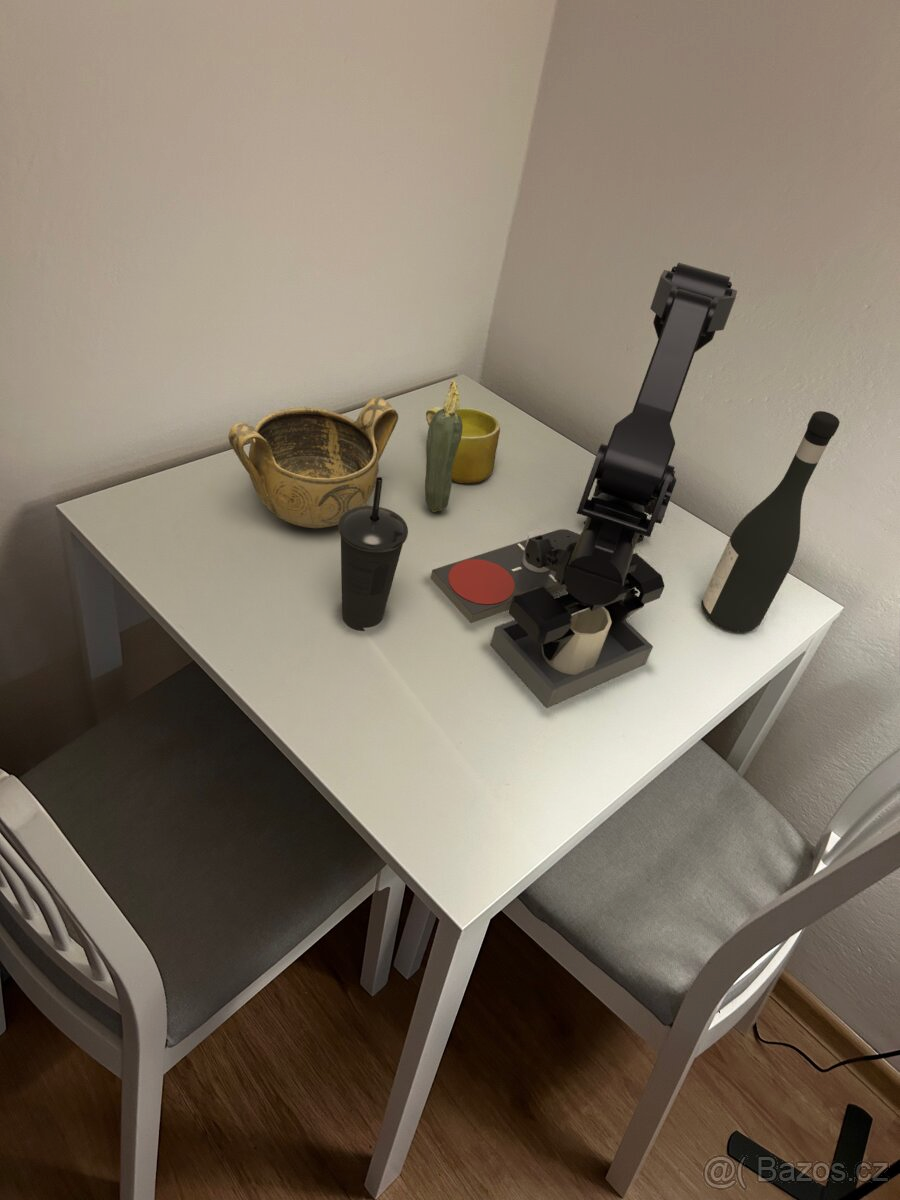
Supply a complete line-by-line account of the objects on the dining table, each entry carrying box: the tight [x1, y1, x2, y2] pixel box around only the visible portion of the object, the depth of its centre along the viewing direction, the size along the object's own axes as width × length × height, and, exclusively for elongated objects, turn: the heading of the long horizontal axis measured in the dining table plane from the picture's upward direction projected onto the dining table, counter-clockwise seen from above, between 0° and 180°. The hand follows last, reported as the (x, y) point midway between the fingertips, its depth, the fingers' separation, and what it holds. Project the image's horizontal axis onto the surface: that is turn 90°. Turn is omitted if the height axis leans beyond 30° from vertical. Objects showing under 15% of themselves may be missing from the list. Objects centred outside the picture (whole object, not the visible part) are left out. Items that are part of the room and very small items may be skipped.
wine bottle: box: [701, 410, 841, 634], centre depth 108 cm, size 8×8×30 cm
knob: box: [522, 528, 551, 573], centre depth 115 cm, size 4×4×4 cm
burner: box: [448, 559, 515, 605], centre depth 112 cm, size 8×8×1 cm
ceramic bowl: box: [227, 396, 399, 529], centre depth 116 cm, size 22×17×15 cm
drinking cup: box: [337, 476, 409, 632], centre depth 100 cm, size 8×8×20 cm
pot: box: [541, 607, 612, 675], centre depth 105 cm, size 7×7×6 cm
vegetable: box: [424, 379, 463, 513], centre depth 118 cm, size 4×4×20 cm
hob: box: [430, 539, 566, 624], centre depth 115 cm, size 18×9×2 cm, turn 124°
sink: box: [489, 619, 654, 709], centre depth 106 cm, size 16×11×4 cm
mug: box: [425, 405, 501, 485], centre depth 132 cm, size 12×10×10 cm
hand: (570, 648), depth 106 cm, fingers closed on pot, 7 cm apart
